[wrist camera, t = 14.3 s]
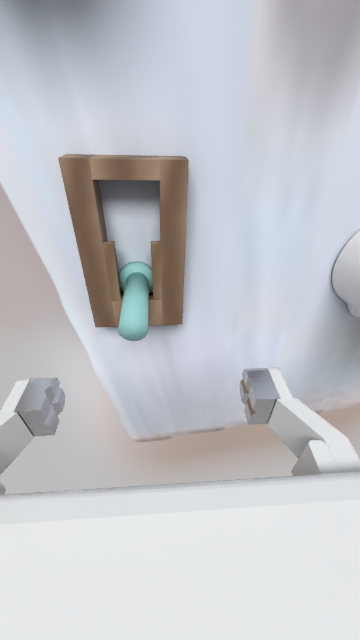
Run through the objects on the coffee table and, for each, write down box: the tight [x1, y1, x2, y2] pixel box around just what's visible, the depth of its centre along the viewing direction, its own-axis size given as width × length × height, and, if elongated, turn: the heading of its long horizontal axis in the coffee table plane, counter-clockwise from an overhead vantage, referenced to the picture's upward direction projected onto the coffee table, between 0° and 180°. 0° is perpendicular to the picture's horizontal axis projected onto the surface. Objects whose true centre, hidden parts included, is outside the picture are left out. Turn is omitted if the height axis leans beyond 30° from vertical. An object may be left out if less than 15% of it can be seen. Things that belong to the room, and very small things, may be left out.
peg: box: [118, 262, 153, 341], centre depth 31 cm, size 5×5×11 cm
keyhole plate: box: [58, 154, 188, 327], centre depth 32 cm, size 12×20×3 cm, turn 179°
